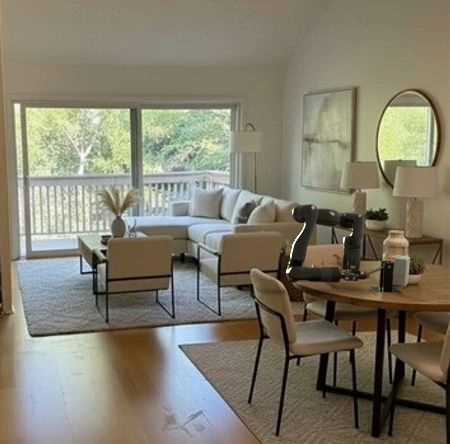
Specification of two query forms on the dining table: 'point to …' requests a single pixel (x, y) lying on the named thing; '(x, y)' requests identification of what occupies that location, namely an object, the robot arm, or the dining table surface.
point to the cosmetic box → (401, 270)
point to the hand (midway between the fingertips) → (363, 275)
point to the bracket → (386, 279)
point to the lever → (372, 271)
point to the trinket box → (321, 265)
